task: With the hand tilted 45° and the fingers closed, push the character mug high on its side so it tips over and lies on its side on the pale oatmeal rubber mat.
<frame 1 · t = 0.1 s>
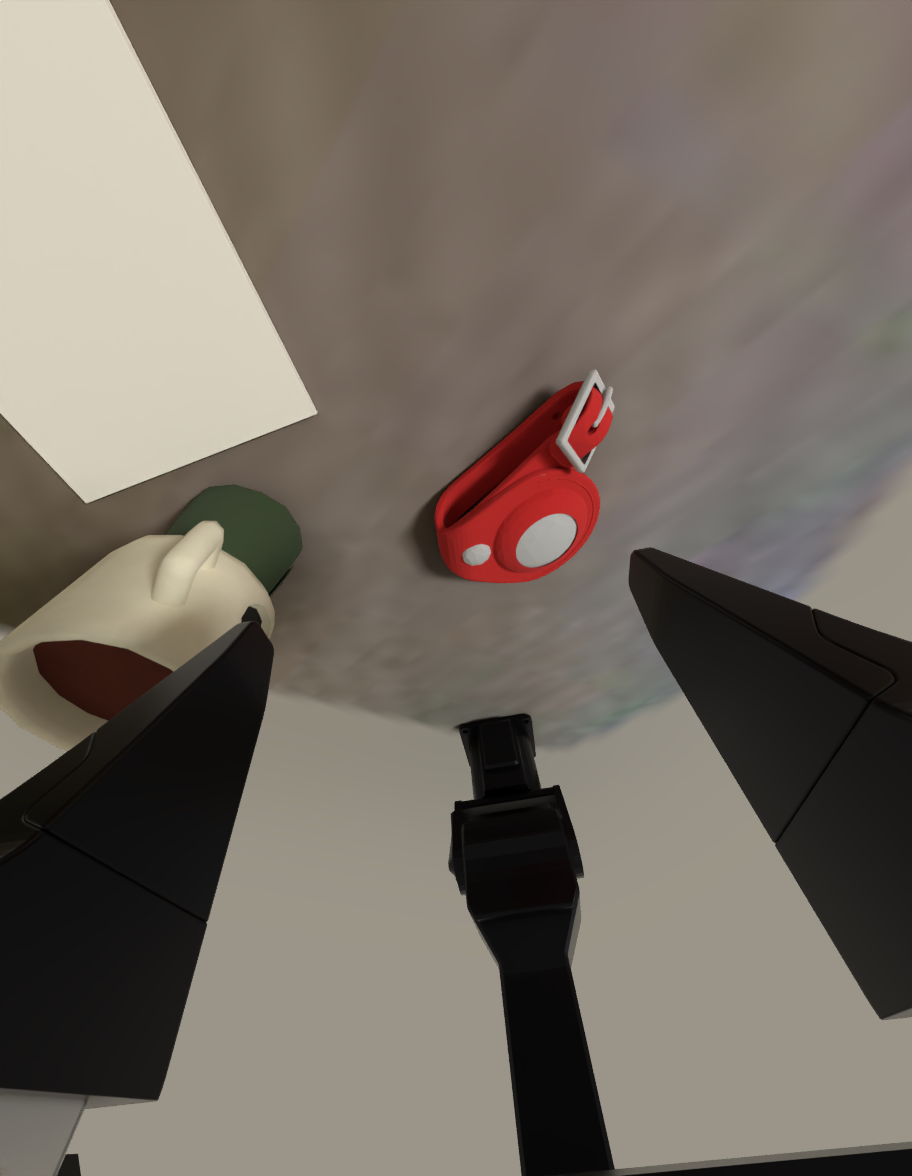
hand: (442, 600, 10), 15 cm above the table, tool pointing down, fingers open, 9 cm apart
character mug: (251, 528, 24), on the table
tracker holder: (534, 488, 24), on the table
oatmeal mat: (70, 278, 17), on the table
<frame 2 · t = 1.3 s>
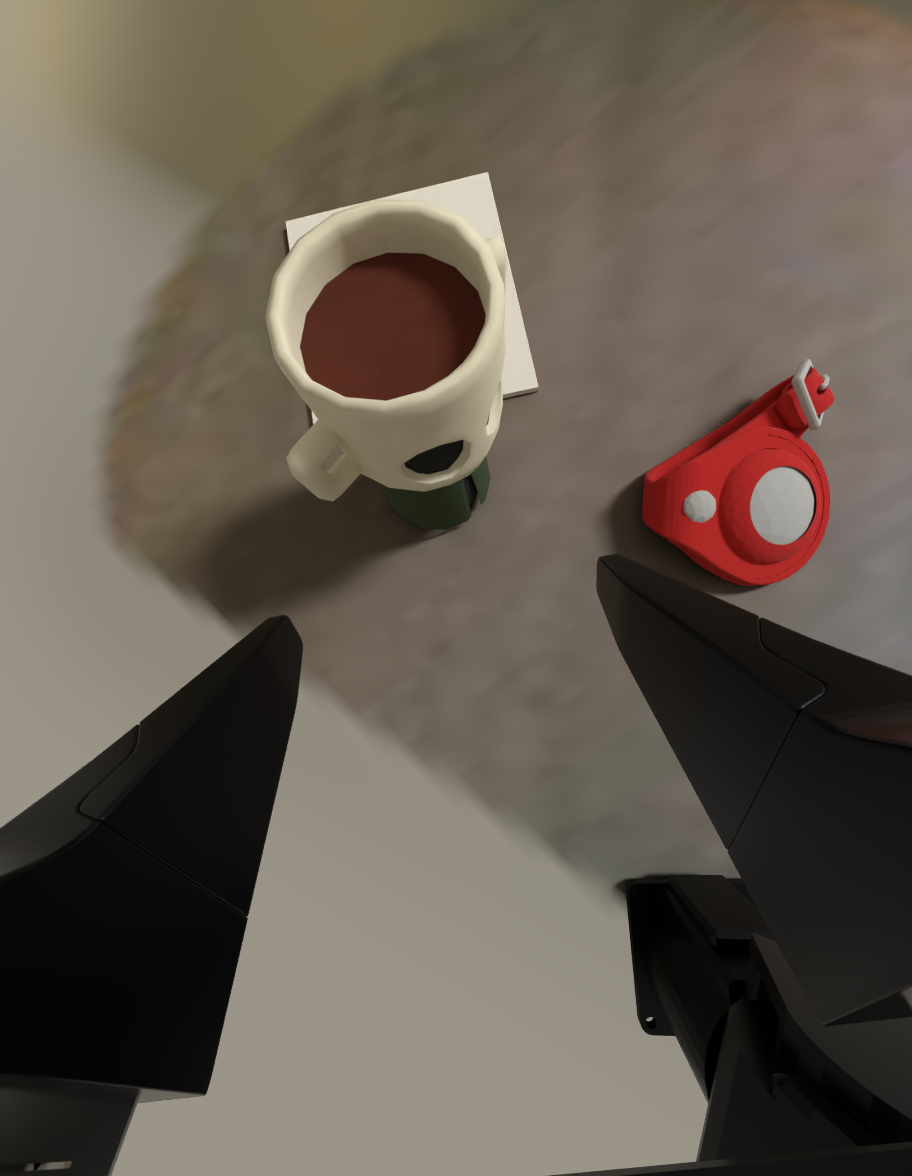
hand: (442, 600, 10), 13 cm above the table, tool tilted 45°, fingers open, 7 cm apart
character mug: (438, 484, 25), on the table
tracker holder: (741, 491, 23), on the table
oatmeal mat: (405, 304, 26), on the table
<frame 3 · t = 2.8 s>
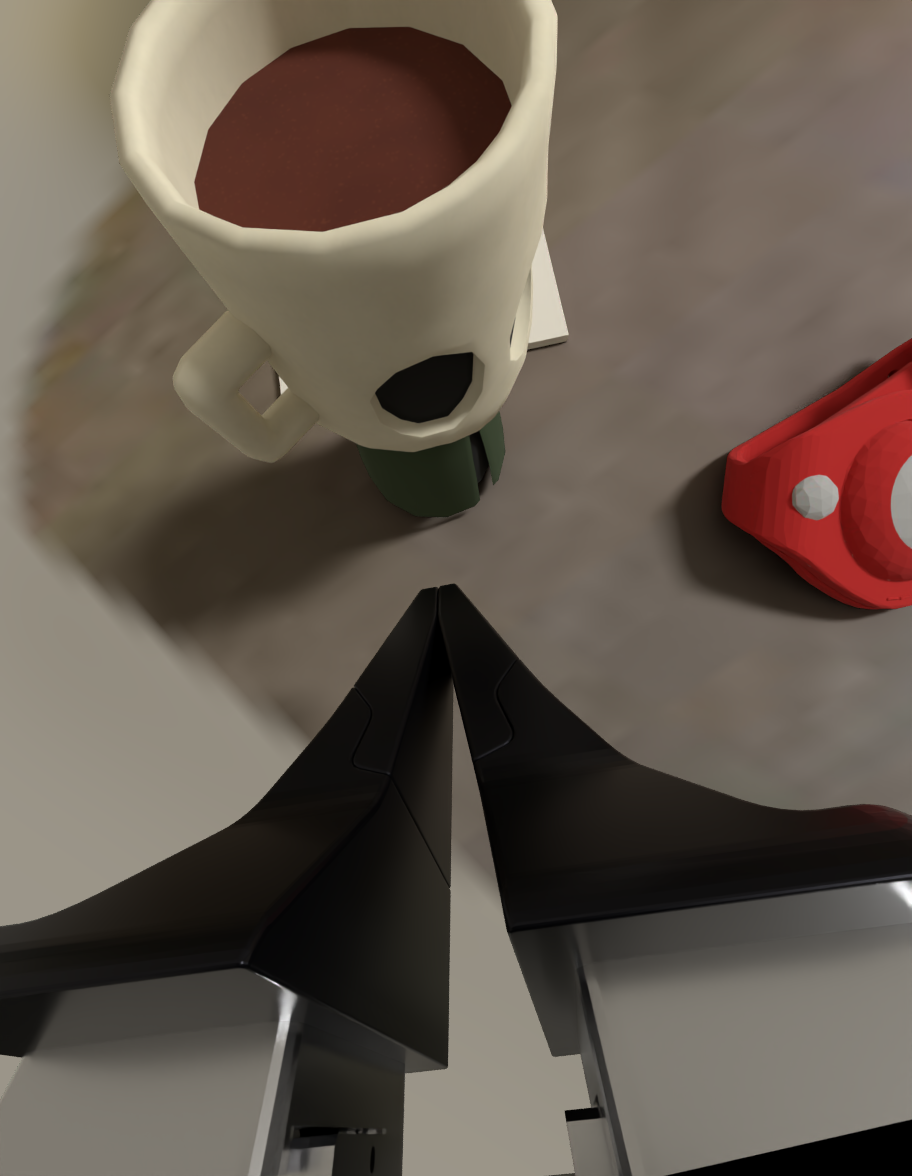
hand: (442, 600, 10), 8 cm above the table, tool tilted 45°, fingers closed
character mug: (437, 459, 19), on the table
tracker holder: (852, 482, 18), on the table
oatmeal mat: (399, 235, 21), on the table
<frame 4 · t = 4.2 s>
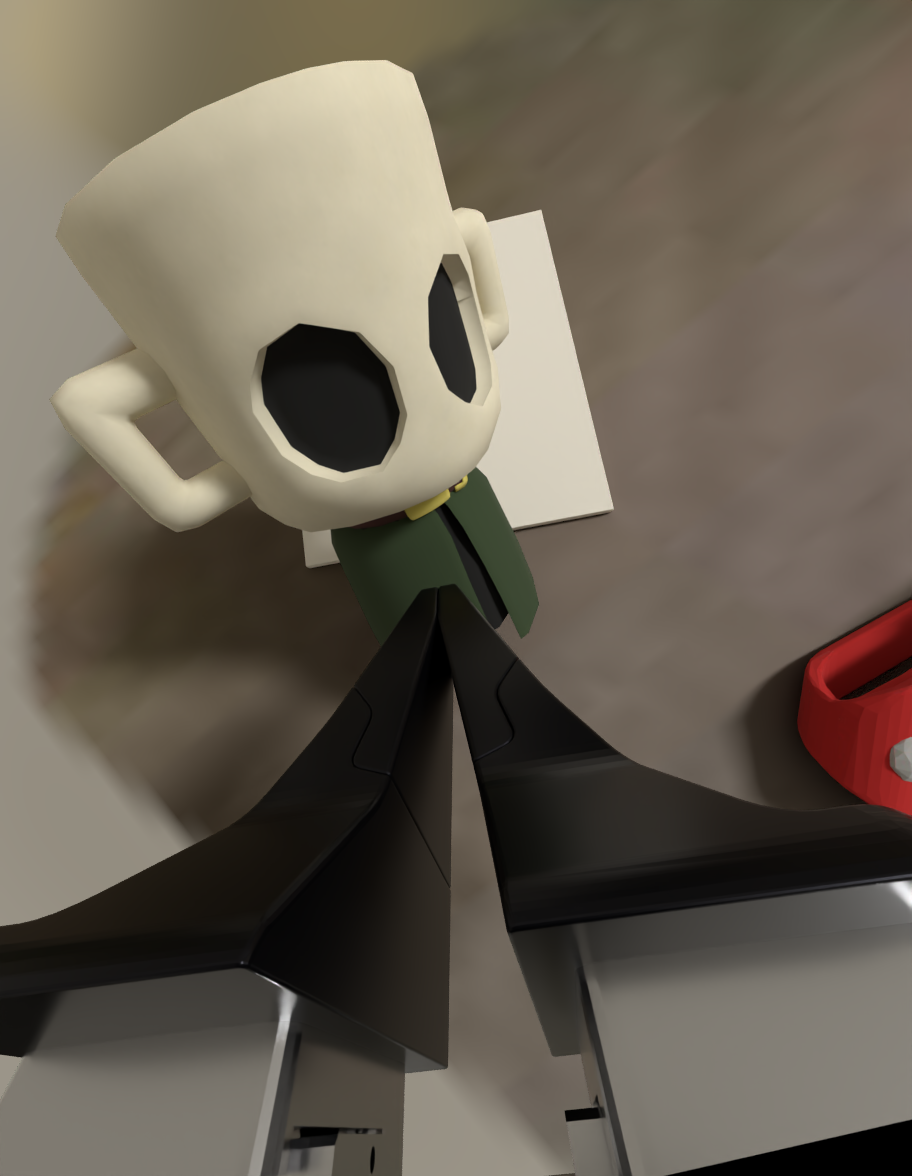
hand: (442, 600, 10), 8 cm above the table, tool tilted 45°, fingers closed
character mug: (463, 623, 16), point 2 cm above the table
oatmeal mat: (430, 385, 20), on the table
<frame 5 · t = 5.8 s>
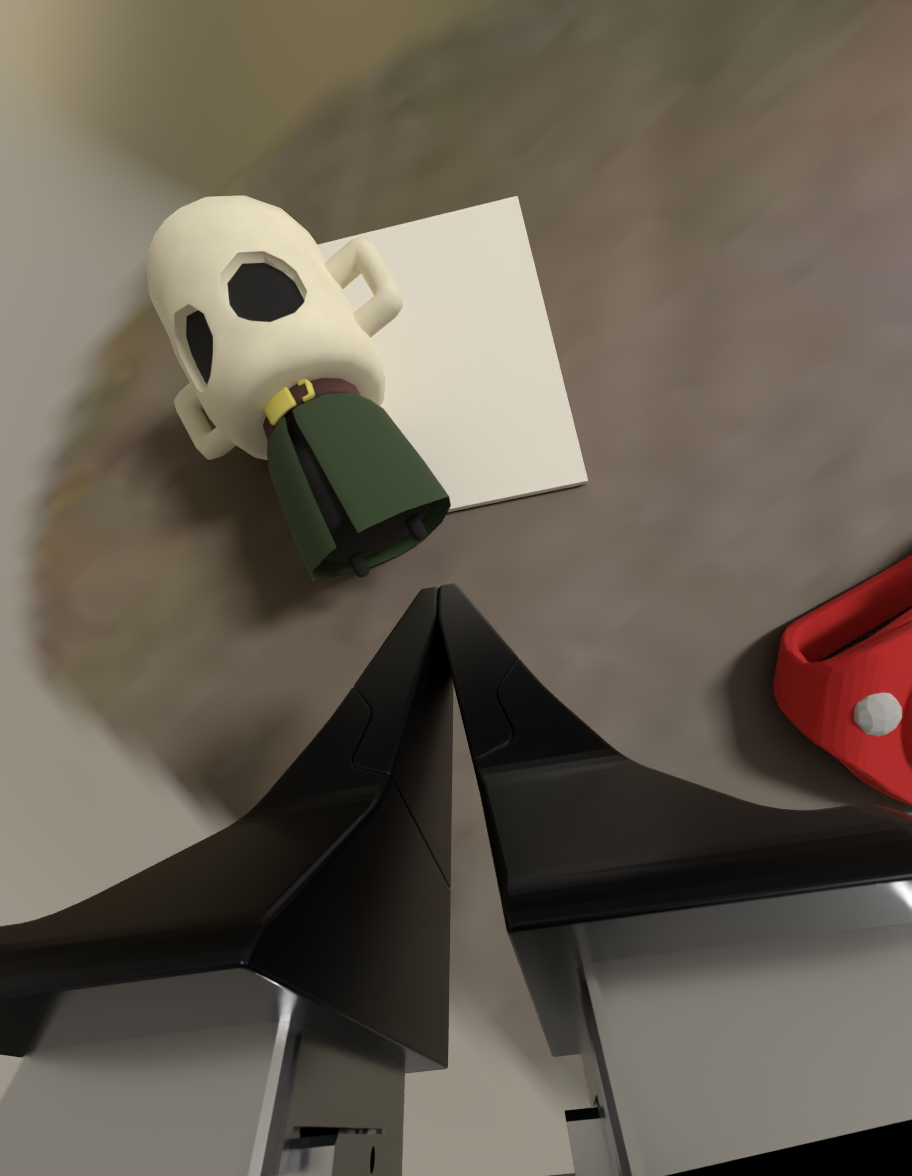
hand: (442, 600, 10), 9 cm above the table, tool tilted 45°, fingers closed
character mug: (395, 562, 16), point 3 cm above the table, touching oatmeal mat
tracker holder: (904, 660, 17), on the table
oatmeal mat: (413, 366, 21), on the table
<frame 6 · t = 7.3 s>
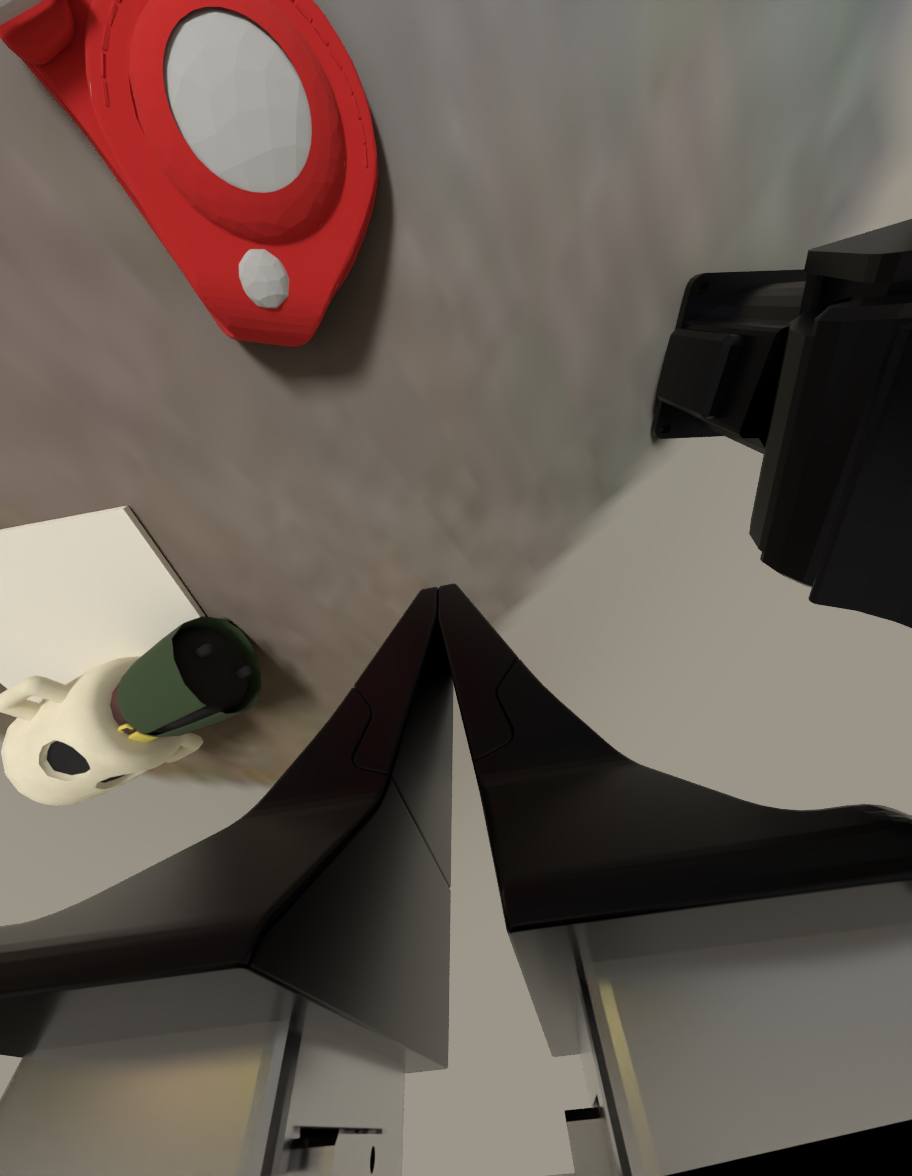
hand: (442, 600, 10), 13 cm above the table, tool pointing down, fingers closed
character mug: (234, 656, 24), point 3 cm above the table, touching oatmeal mat
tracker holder: (217, 129, 14), on the table
oatmeal mat: (80, 627, 26), on the table
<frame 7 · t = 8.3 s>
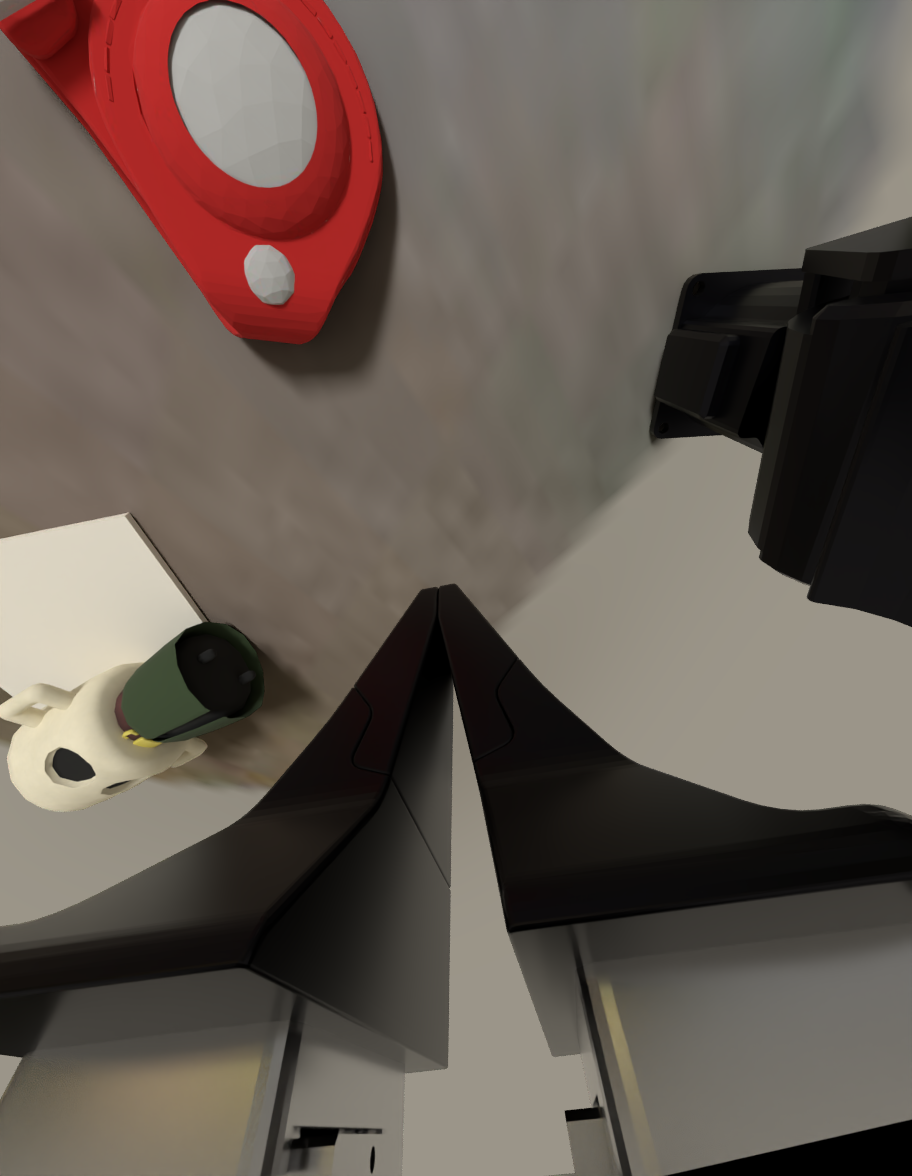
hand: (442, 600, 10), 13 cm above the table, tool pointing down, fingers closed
character mug: (237, 661, 24), point 3 cm above the table, touching oatmeal mat
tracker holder: (220, 125, 14), on the table
oatmeal mat: (84, 634, 26), on the table
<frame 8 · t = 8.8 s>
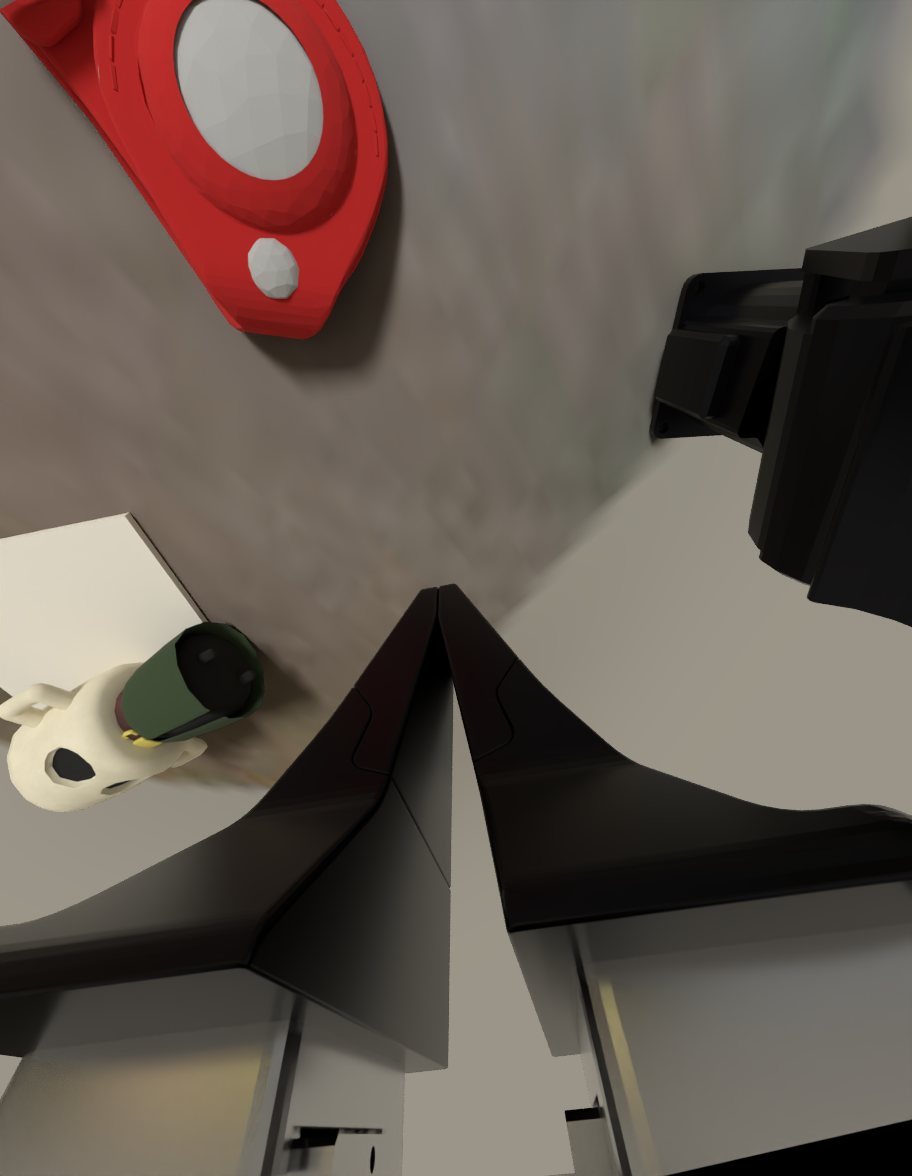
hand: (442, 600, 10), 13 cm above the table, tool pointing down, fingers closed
character mug: (237, 661, 24), point 3 cm above the table, touching oatmeal mat
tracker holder: (224, 117, 14), on the table
oatmeal mat: (84, 634, 26), on the table
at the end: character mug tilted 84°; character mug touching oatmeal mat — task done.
